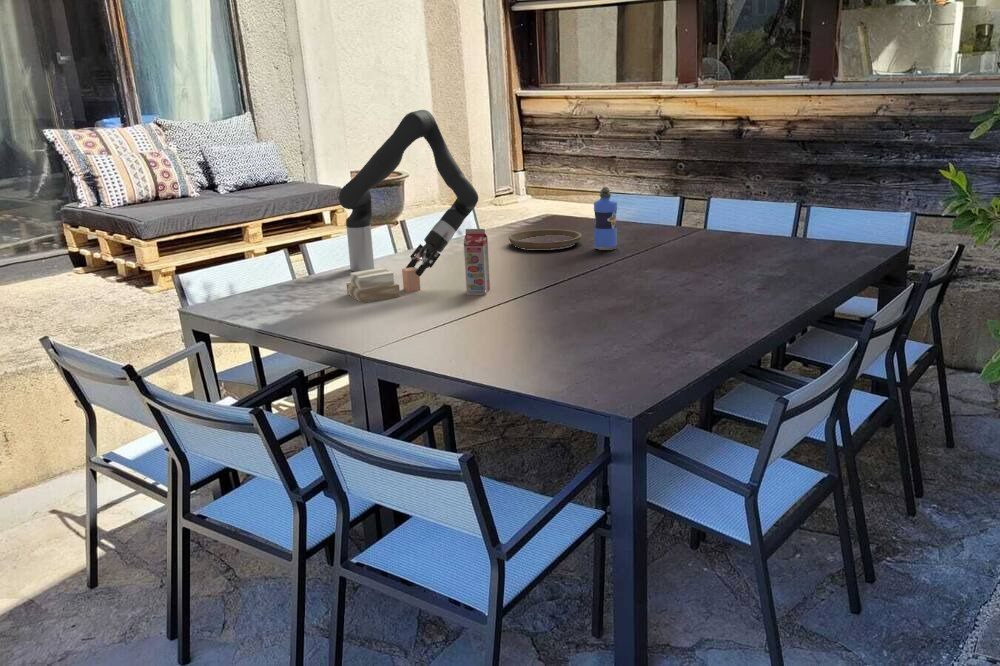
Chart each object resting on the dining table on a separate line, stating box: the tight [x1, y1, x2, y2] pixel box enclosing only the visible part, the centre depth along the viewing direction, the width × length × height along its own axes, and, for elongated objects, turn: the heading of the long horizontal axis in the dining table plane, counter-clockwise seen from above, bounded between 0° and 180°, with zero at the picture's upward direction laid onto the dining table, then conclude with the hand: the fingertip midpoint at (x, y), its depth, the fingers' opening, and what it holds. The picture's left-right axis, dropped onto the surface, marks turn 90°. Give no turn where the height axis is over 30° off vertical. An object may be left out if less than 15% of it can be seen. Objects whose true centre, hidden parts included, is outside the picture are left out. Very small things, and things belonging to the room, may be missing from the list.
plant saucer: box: [508, 228, 583, 249], centre depth 372 cm, size 31×31×5 cm
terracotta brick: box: [401, 266, 421, 293], centre depth 307 cm, size 4×4×8 cm
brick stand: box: [345, 267, 401, 303], centre depth 301 cm, size 14×14×8 cm
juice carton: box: [463, 228, 491, 296], centre depth 297 cm, size 7×7×22 cm
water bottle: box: [593, 186, 618, 247], centre depth 356 cm, size 9×9×25 cm
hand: (412, 272), depth 306 cm, fingers open, 8 cm apart
